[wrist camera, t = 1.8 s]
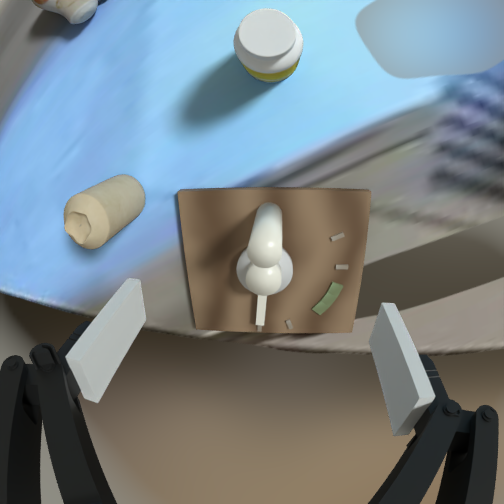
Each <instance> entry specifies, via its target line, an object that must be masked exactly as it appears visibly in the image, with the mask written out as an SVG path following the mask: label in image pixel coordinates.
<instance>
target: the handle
mask: <svg viewBox="0 0 504 504" xmlns="http://www.w3.org/2000/svg"><path fill="white" fill-rule="evenodd" d="M236 270H237V276H238V279H239V281H240V282H241V284H242V285H243V286H244V287H245V288H246V289H248V290H249V291H251V292H253V293H254V294H257V295H258V302H257V315H256V325H262V326H264V321H265V311H266V301H267V296H268V295H272V294H275V293H278V292H280V291H282V290H283V289H284V288H286V287H287V285H288V284H289V283H290V281H291V279H292V275H293V264H292V260H291V257H290V255H289V254H288V252H287V251H286V250H285V249H284V248H283V247H282V211H281V209H280V207H279V206H278V205H276V204H274V203H271V202H268V203H264V204H262V205H261V206H260V207H259V208H258V210H257V213H256V217H255V221H254V225H253V228H252V232H251V236H250V240H249V244H248V247H247V248H246V249H244V251H243V252H242V253H241V255H240V257H239V260H238V263H237V268H236Z"/></svg>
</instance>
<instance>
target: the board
mask: <svg viewBox="0 0 504 504" xmlns="http://www.w3.org/2000/svg"><path fill="white" fill-rule="evenodd" d="M178 201H179V210H180V219H181V228H182V236H183V244H184V251H185V259H186V266H187V273H188V280H189V287H190V293H191V300H192V306H193V312H194V318H195V324H196V329H200V330H216V331H236V332H264V333H349V332H352V329H353V324H354V319H355V313H356V308H357V302H358V296H359V290H360V284H361V278H362V271H363V264H364V257H365V249H366V241H367V232H368V223H369V213H370V202H371V191H370V190H364V189H340V188H298V187H246V188H204V189H180V190H179V191H178ZM268 202H271V203H274V204H276V205H278V206H279V207H280V209H281V211H282V247H283V248H284V249H285V250H286V251H287V252H288V254H289V255H290V257H291V260H292V264H293V275H292V279H291V281H290V283H289V284H288V285H287V287H286V288H284V289H283V290H282V291H280V292H278V293H275V294H272V295H268V296H267V301H266V311H265V321H264V326H262V325H256V315H257V302H258V295H257V294H254V293H253V292H251V291H249V290H248V289H246V288H245V287H244V286H243V285H242V284H241V282H240V281H239V279H238V276H237V270H236V268H237V263H238V260H239V257H240V255H241V253H242V252H243V251H244V249H246V248H247V247H248V244H249V240H250V236H251V232H252V228H253V225H254V221H255V217H256V213H257V210H258V208H259V207H260V206H261V205H262V204H264V203H268Z"/></svg>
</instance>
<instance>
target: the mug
mask: <svg viewBox="0 0 504 504" xmlns="http://www.w3.org/2000/svg"><path fill="white" fill-rule="evenodd" d="M32 2H33V3H34V4H35V5H36V6H37V7H39V8H41V9H44V10H48V11H52V12H56V13H59V14H61V15H63V16H64V17H65V18H66V19H67V20H68V21H69V22H70V23H71V24H79V23H83V22H85V21H86V20H88V19H89V18H90V17H91V16H92V15H93V14H94V13H95V11H96V9H97V5H98V0H32Z"/></svg>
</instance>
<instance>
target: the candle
mask: <svg viewBox="0 0 504 504" xmlns="http://www.w3.org/2000/svg"><path fill="white" fill-rule="evenodd" d="M144 205H145V193H144V190H143V187H142V186H141V184H140V183H139V182H138V181H137V180H136V179H135V178H134V177H132V176H129V175H117V176H114V177H112V178H110V179H107V180H105V181H103V182H101V183H99V184H97V185H95V186H92V187H90V188H88V189H86V190H84V191H82V192H80V193H78V194H76V195H74V196H73V197H71V198H70V199H69V200H68V202H67V203H66V206H65V209H64V224H65V231H66V232H67V233H68V234H69V236H70V237H71V238H72V240H73V241H74V242H76V243H77V244H78V245H80V246H81V247H83V248H86V249H96V248H99V247H101V246H102V245H103V244H104V243H106V242H107V241H108V240H109V239H110V238H112V237H113V236H114V235H115V234H116V233H118V232H119V231H120V230H121V229H123V228H124V227H125V226H126V225H128V224H129V223H130V222H131V221H133V220H134V219H135V218H136V217H137V216H138V215H139V214H140V213H141V212H142V210H143V208H144Z"/></svg>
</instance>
